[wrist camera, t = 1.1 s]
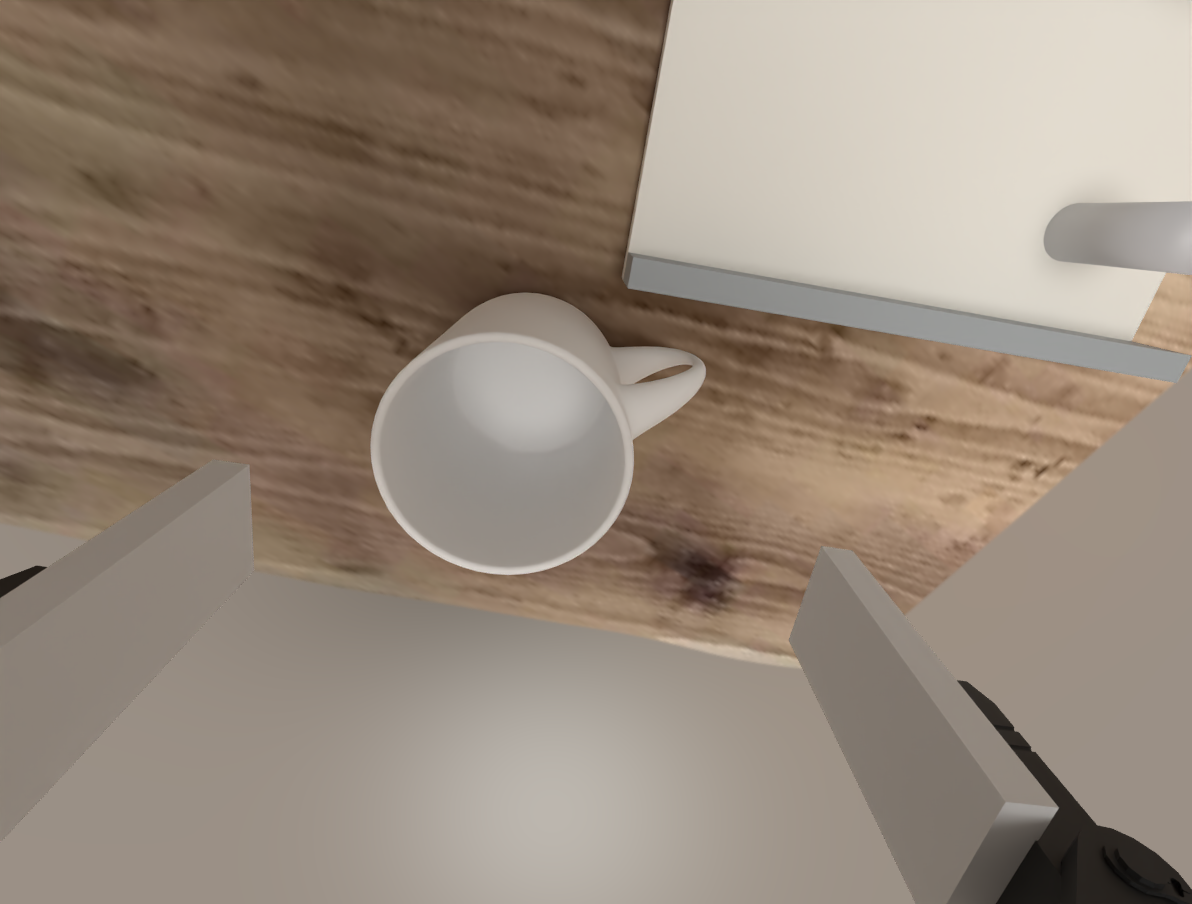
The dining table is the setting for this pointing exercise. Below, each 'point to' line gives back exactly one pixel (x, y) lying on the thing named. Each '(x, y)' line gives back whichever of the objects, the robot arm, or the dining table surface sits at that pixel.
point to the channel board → (926, 169)
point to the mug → (519, 433)
